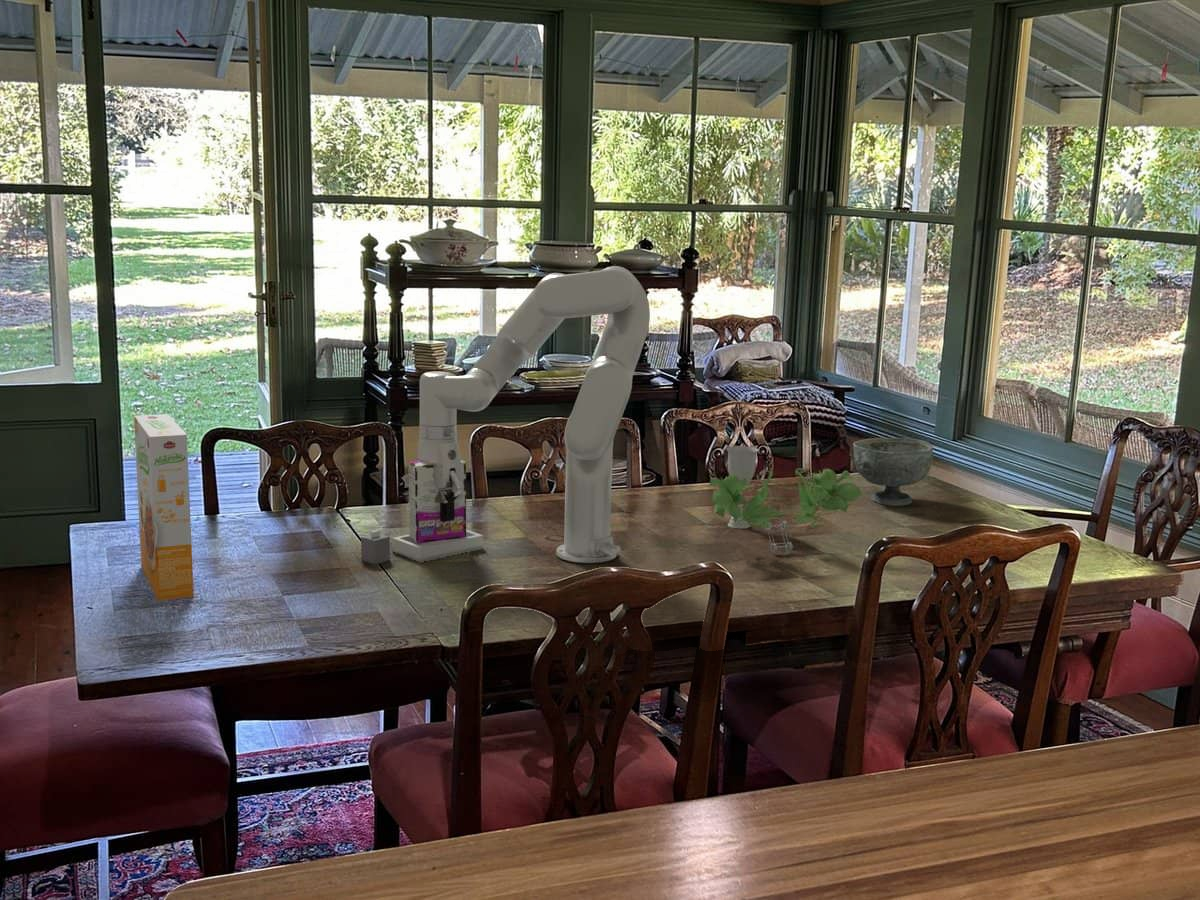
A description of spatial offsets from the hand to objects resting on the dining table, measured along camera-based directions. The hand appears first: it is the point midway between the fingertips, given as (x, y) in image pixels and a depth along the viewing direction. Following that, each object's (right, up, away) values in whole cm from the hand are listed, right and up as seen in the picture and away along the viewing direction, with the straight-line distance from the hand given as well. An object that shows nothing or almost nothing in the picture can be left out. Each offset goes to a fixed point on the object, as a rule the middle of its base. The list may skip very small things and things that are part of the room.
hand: (437, 516), depth 255 cm
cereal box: (-48, -11, -23) cm, 55 cm away
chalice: (+66, -4, +28) cm, 71 cm away
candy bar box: (0, -5, +1) cm, 5 cm away
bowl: (+107, +1, +55) cm, 120 cm away
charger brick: (-12, -8, -7) cm, 16 cm away
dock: (0, -7, +1) cm, 7 cm away
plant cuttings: (+71, -7, +10) cm, 72 cm away
